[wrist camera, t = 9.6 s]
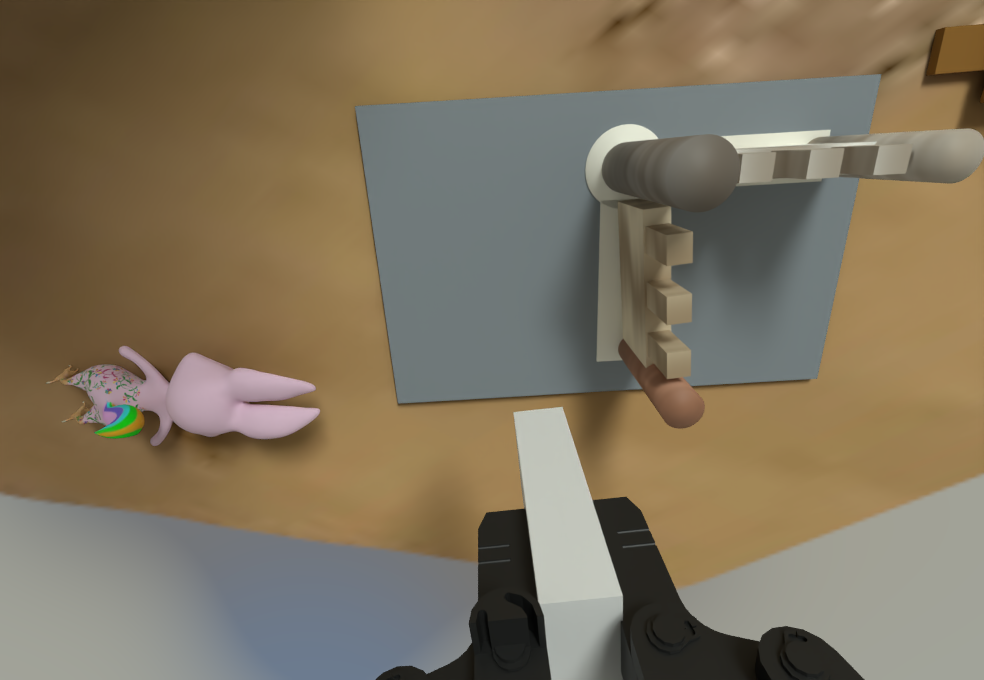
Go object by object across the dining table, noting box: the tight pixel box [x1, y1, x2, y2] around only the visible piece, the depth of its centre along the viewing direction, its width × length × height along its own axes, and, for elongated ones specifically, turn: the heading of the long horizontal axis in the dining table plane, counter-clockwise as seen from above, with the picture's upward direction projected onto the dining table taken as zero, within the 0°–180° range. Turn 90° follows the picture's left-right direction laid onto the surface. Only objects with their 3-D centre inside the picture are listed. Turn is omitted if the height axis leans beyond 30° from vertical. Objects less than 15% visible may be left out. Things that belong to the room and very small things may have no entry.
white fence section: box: [602, 129, 984, 212], centre depth 20 cm, size 12×2×9 cm, turn 93°
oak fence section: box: [618, 198, 705, 428], centre depth 22 cm, size 9×2×7 cm, turn 8°
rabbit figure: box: [45, 346, 320, 446], centre depth 26 cm, size 6×6×15 cm
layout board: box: [355, 74, 881, 403], centre depth 26 cm, size 25×16×1 cm, turn 93°
